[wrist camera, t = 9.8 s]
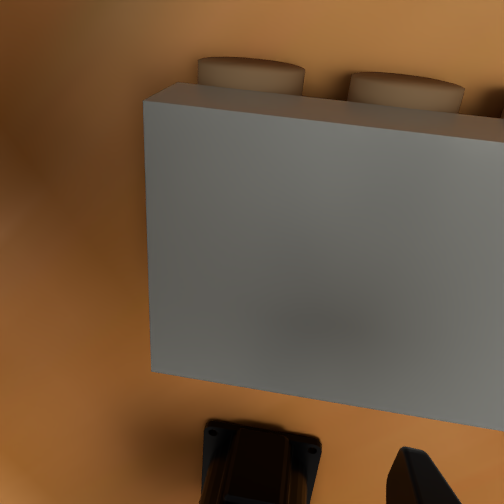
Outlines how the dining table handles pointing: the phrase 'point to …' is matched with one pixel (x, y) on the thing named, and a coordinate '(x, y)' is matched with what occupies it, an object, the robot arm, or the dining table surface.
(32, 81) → the dining table surface
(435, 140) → the slab
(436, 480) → the robot arm
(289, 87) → the roller bed
